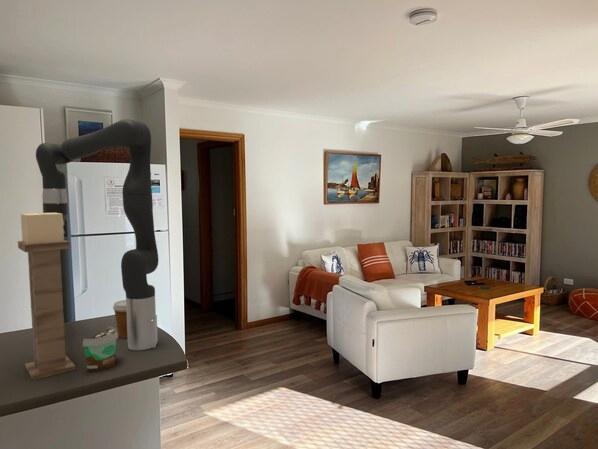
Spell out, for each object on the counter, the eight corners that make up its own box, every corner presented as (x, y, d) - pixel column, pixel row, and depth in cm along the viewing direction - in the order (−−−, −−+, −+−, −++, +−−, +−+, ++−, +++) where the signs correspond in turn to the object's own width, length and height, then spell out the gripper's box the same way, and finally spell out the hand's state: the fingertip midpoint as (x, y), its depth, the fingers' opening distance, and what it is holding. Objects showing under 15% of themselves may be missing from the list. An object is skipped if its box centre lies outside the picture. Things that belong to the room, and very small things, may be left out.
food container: (102, 374, 127) (101, 340, 126) (83, 373, 128) (82, 339, 127) (127, 358, 139) (126, 327, 138) (110, 357, 140) (108, 326, 139)
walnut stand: (75, 369, 130) (69, 241, 127) (33, 380, 123) (25, 245, 120) (65, 357, 140) (59, 238, 136) (25, 367, 132) (17, 241, 129)
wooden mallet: (63, 241, 128) (62, 213, 127) (28, 244, 122) (26, 214, 122) (47, 235, 145) (46, 210, 144) (15, 237, 139) (13, 211, 138)
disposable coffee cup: (116, 341, 154) (114, 307, 153) (112, 333, 163) (111, 301, 162) (144, 336, 159) (143, 303, 158) (139, 329, 167) (138, 298, 166)
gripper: (36, 201, 156) (38, 246, 157) (49, 202, 146) (52, 251, 147) (59, 200, 161) (61, 245, 162) (73, 202, 151) (75, 249, 153)
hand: (57, 248), depth 155 cm, fingers open, 8 cm apart
